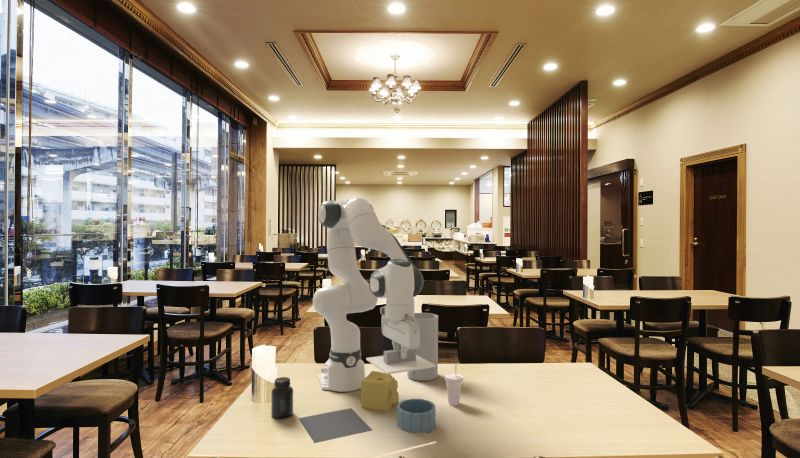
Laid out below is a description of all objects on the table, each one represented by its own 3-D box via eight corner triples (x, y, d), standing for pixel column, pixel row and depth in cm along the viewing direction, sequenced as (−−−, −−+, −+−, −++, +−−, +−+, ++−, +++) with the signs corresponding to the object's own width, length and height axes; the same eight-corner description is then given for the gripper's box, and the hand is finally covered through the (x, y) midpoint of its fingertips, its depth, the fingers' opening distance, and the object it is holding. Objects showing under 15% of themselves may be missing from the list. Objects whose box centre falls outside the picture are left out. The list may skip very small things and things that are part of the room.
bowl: (391, 421, 144) (391, 402, 144) (423, 414, 149) (423, 396, 149) (408, 437, 133) (408, 417, 133) (442, 429, 139) (442, 409, 139)
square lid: (366, 359, 144) (366, 346, 144) (410, 353, 151) (410, 341, 151) (387, 374, 130) (387, 360, 130) (435, 366, 137) (435, 353, 137)
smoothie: (462, 408, 155) (462, 367, 154) (443, 406, 156) (443, 366, 156) (463, 400, 161) (463, 361, 161) (445, 399, 162) (445, 360, 162)
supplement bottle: (270, 413, 149) (270, 377, 149) (291, 410, 152) (291, 374, 151) (272, 422, 143) (273, 384, 142) (294, 418, 145) (294, 381, 145)
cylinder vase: (418, 369, 195) (418, 311, 194) (443, 375, 187) (443, 315, 187) (401, 377, 185) (401, 316, 184) (427, 384, 177) (427, 320, 177)
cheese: (398, 401, 160) (398, 373, 160) (388, 414, 150) (388, 384, 149) (371, 398, 163) (371, 370, 163) (359, 409, 153) (359, 380, 153)
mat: (298, 419, 144) (298, 418, 144) (351, 409, 153) (351, 408, 153) (314, 444, 128) (314, 442, 128) (372, 431, 137) (372, 430, 137)
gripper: (425, 317, 132) (425, 364, 132) (395, 306, 151) (395, 347, 151) (406, 319, 130) (406, 367, 130) (378, 307, 148) (377, 349, 148)
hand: (400, 356), depth 140 cm, fingers closed on square lid, 2 cm apart
